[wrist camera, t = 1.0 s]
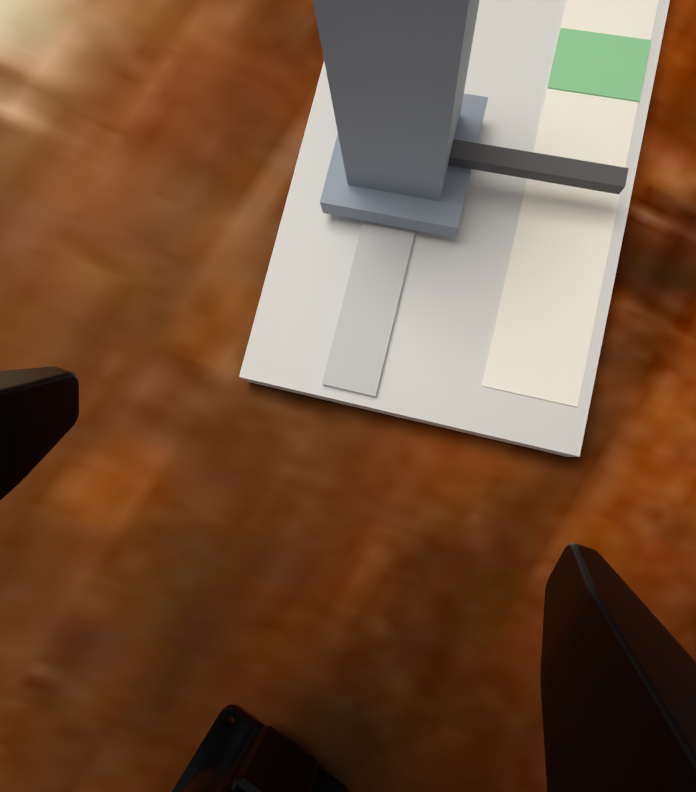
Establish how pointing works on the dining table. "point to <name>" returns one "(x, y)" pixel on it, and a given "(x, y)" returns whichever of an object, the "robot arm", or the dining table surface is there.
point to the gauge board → (475, 245)
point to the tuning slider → (417, 117)
